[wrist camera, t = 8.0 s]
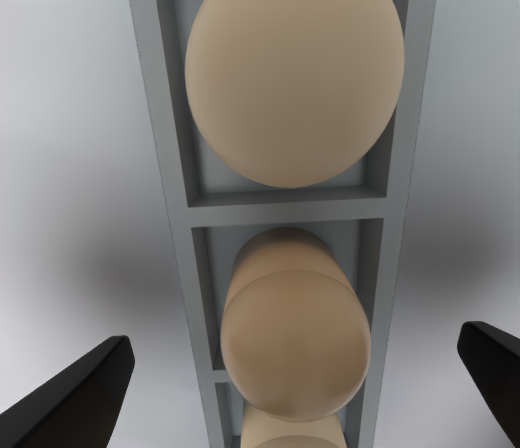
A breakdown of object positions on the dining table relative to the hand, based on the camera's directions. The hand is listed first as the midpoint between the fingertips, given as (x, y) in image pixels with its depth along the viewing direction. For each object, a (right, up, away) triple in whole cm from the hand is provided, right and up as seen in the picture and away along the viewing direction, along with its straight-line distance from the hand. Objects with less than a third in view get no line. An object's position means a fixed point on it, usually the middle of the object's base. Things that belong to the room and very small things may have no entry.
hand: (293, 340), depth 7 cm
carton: (0, +1, +4) cm, 4 cm away
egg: (0, +1, +3) cm, 3 cm away
